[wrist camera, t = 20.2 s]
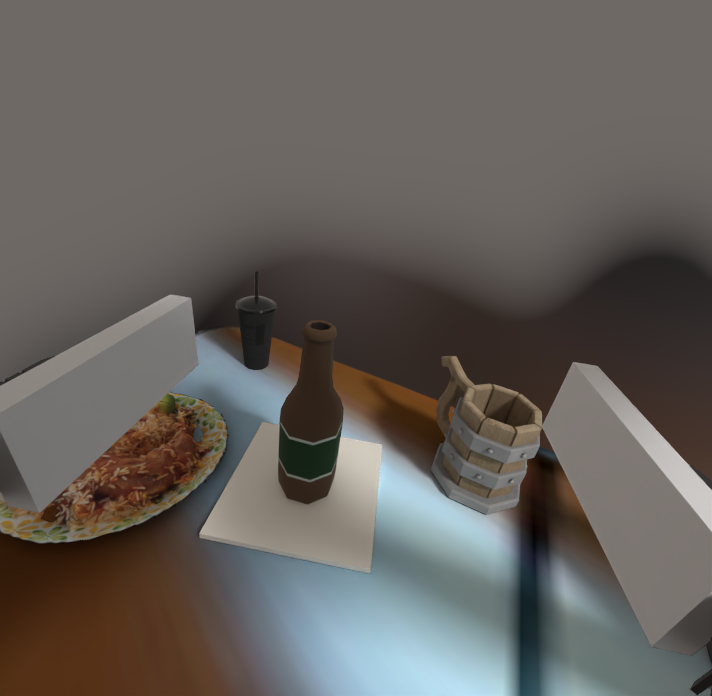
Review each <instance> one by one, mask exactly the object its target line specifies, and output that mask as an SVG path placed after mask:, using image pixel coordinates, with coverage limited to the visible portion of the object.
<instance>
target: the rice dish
mask: <svg viewBox="0 0 712 696" xmlns="http://www.w3.org/2000/svg"><path fill="white" fill-rule="evenodd" d="M175 410H177V412H175ZM224 421H225V420H224V419H223V416H222V414H221V413H217V410H216V409H215V408H214V407H213V406H211V405H210V404H209V403H206V402H204V401H203V400H202V399H196V398H191V397H190V396H187V395H183V394H175V393H168V394H166V395H165V396H164V397H163V398H162V399H161V400H160V401H159V402H158V403H157V404H156V405H155V406H154V407H153V408H151V409H150V410H149V411H148V412H147V413H146V414H145V415H144V416H143V417H142V418H141V419H140V420H139V421H138V422H137V423H135V424H134V425H133V426H132V427H131V428H130V429H129V430H128V431H127V432H126V433H125V434H124V435H123V436H122V437H120V438H119V439H118V440H117V441H116V442H115V443H114V444H113V445H112V446H111V447H110V448H109V449H108V450H107V451H106V452H104V453H103V454H102V455H101V456H100V457H99V458H98V459H97V460H96V461H95V462H94V463H93V464H92V465H91V466H89V467H88V468H87V469H86V470H85V471H84V472H83V473H82V474H81V475H80V476H79V477H78V478H77V479H76V480H74V481H73V482H72V483H71V484H70V485H69V486H68V487H67V488H66V489H65V490H64V491H63V492H62V493H61V494H60V495H58V496H57V497H56V498H55V499H54V500H53V501H52V502H51V503H50V504H49V505H48V506H47V507H46V508H48V507H50V506H53V505H57V506H58V507H57V509H59V510H60V512H59V513H58V514H57V515H55V517H57V520H56V521H54V522H47V521H45V520H42V519H41V516H42V515H43V513H44V510H45V509H46V508H45V509H43V510H42V511H41V512H40V513H37V512H33V511H28V510H23V509H19V508H14V507H10V506H8V505H7V503H6V501H5V499H4V497H3V495H2V493H1V492H0V533H2V534H6V535H10V536H13V537H15V538H19V539H23V540H26V541H31V542H34V543H66V542H73V541H78V540H90V539H92V538H95V537H97V536H101V535H104V534H107V533H111V532H114V533H116V532H119V531H122V530H124V529H127V528H130V527H131V526H133V525H134V524H135V525H141V524H142V523H144V522H146V521H147V520H148V519H150V518H153V517H154V518H156V515H160V514H162V513H163V512H165V511H166V510H167V509H169V508H171V507H174V506H175V505H176V503H177V502H180V501H182V500H184V499H186V498H187V497H188V496H189V495H190V494H191V493H192V492H193V491H194V490H195V489H197V488H198V487H199V486H200V485H201V484H202V483H204V482H206V478H207V477H209V476H210V475H211V474H212V473H213V472H214V470H216V467H217V465H218V463H219V462H220V461H221V459H222V458H223V456H224V453H225V451H226V450H227V449H226V446H227V445H226V444H225V443H226V442H227V438H228V437H226V436H229V435H228V434H227V432H226V430H227V426H226V425H225V422H224ZM195 422H198V425H199V426H200V428H201V429H202V431H203V438H202V436H200V437H201V439H200V442H196V441H195V440H194V439H193V437H194V435H193V433H194V431H195V428H196V427H197V425H196V424H194V423H195Z"/></svg>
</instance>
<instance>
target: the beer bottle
mask: <svg viewBox="0 0 712 696" xmlns="http://www.w3.org/2000/svg"><path fill="white" fill-rule="evenodd" d="M302 334H303V335H304V343H303V350H302V358H301V365H300V373H299V378H298V382H297V385H296V386H295V387H294V388H293V390H292V391H291V392H290V394H289V395H288V397H287V398H286V400H285V402H284V404H283V406H282V408H281V414H280V426H279V456H278V481H279V483H280V485H281V487H282V489H283V491H284V493H285V495H286V497H287V498H288V499H291V500H294V501H297V502H301V503H304V504H310V503H312V502H315V501H317V500H319V499H322V498H324V497H326V496H328V493H329V491H330V488H331V485H332V483H333V480H334V476H335V472H336V465H337V458H338V451H339V444H340V437H341V430H342V423H343V405H342V402H341V399H340V397H339V396H338V394H337V393H336V391H335V390H334V388H333V380H332V368H333V343H334V338H335V337H336V335H337V331H336V327H335V326H334V325H332V324H331V323H330V322H326V321H321V320H315V321H309V322H307V324H306V325H305V326H304V328H303V330H302Z"/></svg>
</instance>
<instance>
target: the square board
mask: <svg viewBox="0 0 712 696" xmlns="http://www.w3.org/2000/svg"><path fill="white" fill-rule="evenodd" d="M279 426H280V425H276V424H271V423H265V422H262V424H261V425H260V427H259V429H258V431H257V433H256V434H255V436H254V438H253V440H252V441H251V443H250V445H249V447H248V448H247V450H246V452H245V454H244V456H243V457H242V459H241V461H240V463H239V464H238V466H237V468H236V470H235V471H234V473H233V475H232V477H231V478H230V480H229V482H228V484H227V486H226V487H225V489H224V491H223V493H222V494H221V496H220V498H219V500H218V501H217V503H216V505H215V507H214V508H213V510H212V512H211V514H210V516H209V517H208V519H207V521H206V523H205V524H204V526H203V528H202V530H201V531H200V533H199V535H200V538H203V539H207V540H212V541H217V542H222V543H226V544H231V545H236V546H241V547H245V548H250V549H255V550H259V551H264V552H269V553H274V554H278V555H283V556H288V557H293V558H297V559H302V560H307V561H312V562H316V563H321V564H326V565H331V566H335V567H340V568H345V569H350V570H354V571H359V572H364V573H369V574H370V571H371V563H372V552H373V541H374V530H375V519H376V508H377V496H378V485H379V474H380V463H381V452H382V445H381V444H376V443H371V442H365V441H360V440H355V439H350V438H344V437H340V444H339V451H338V458H337V465H336V472H335V476H334V480H333V483H332V485H331V488H330V491H329V493H328V496H326V497H324V498H322V499H319V500H317V501H315V502H312V503H310V504H304V503H301V502H297V501H294V500H291V499H288V498H287V497H286V495H285V493H284V491H283V489H282V487H281V485H280V483H279V481H278V456H279Z"/></svg>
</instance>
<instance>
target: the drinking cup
mask: <svg viewBox="0 0 712 696" xmlns="http://www.w3.org/2000/svg"><path fill="white" fill-rule="evenodd" d="M254 277H255V278H254V279H255V296H250V297H246V298H242V299H240V300H238V301H237V302H236V308H237V309H238V315H239V323H240V331H241V339H242V346H243V354H244V362H245V366H246V367H247V368H249V369H253V370H259V369H263V368H265V367H267V366H268V362H269V354H270V346H271V338H272V329H273V321H274V313H275V309H276V307H277V305H276V303H275V302H274V301H273V300H271V299H267V298H265V297H261V296H258V272H257V271H255V272H254Z"/></svg>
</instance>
